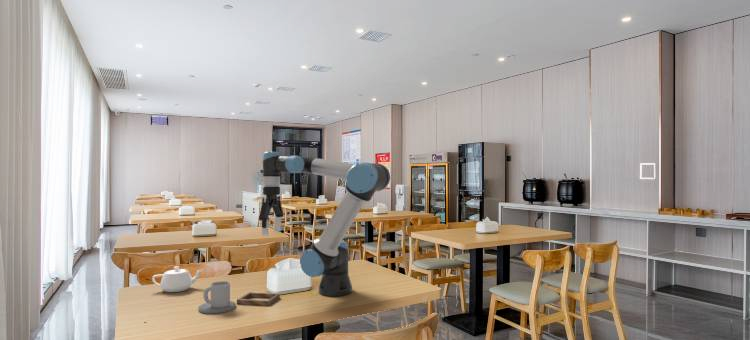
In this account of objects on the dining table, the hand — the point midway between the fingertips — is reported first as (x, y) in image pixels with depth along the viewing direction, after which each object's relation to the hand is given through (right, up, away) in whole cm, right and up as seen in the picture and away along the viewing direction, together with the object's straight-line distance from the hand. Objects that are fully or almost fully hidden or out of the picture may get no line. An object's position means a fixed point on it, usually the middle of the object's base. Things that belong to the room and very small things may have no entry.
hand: (271, 233), depth 194 cm
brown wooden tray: (-2, -27, -13) cm, 30 cm away
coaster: (-16, -27, -22) cm, 38 cm away
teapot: (-45, -27, +5) cm, 53 cm away
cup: (-16, -26, -23) cm, 38 cm away
